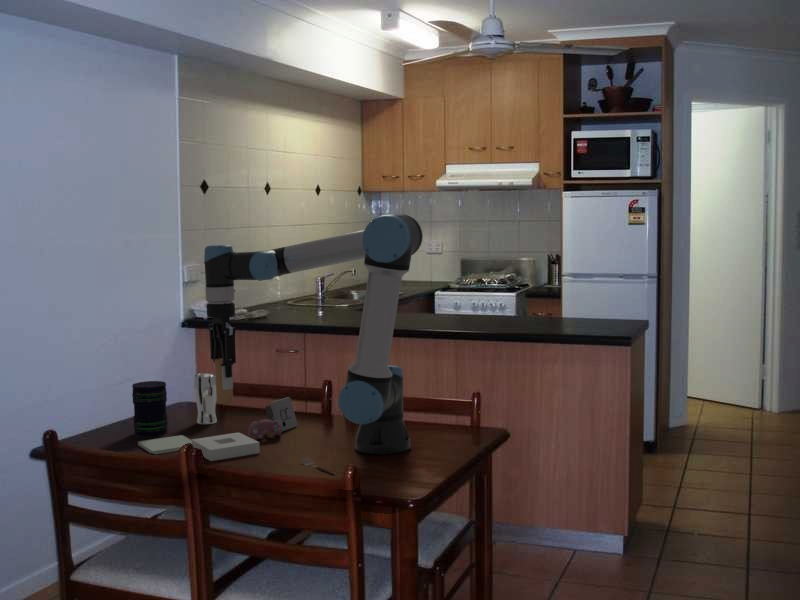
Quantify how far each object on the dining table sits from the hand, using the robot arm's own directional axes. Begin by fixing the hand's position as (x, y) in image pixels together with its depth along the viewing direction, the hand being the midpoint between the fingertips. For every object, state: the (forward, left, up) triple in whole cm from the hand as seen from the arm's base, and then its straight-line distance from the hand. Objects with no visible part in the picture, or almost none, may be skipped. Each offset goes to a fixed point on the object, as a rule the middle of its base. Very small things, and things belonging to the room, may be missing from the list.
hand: (224, 387), depth 254 cm
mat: (+15, +11, -18) cm, 26 cm away
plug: (0, 0, -4) cm, 4 cm away
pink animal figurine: (+8, -15, -18) cm, 25 cm away
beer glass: (+37, -9, -18) cm, 42 cm away
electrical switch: (+15, -24, -18) cm, 34 cm away
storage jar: (+33, +10, -18) cm, 39 cm away
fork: (-30, -13, -18) cm, 37 cm away
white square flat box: (0, 0, -18) cm, 18 cm away
